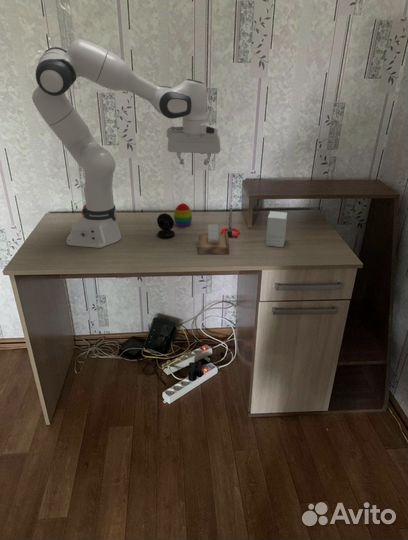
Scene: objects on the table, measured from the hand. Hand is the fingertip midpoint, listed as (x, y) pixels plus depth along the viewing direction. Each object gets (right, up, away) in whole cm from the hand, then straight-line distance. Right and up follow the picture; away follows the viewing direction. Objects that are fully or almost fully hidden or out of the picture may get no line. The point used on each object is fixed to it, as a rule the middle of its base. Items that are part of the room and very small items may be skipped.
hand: (193, 164), depth 158 cm
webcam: (-12, -27, +17) cm, 34 cm away
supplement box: (+34, -30, +11) cm, 47 cm away
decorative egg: (-6, -21, +28) cm, 35 cm away
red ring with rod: (+16, -26, +19) cm, 36 cm away
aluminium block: (+8, -29, +5) cm, 31 cm away
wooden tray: (+8, -32, +7) cm, 34 cm away
